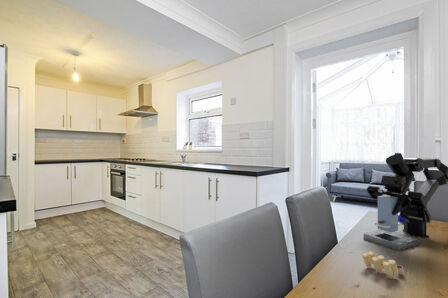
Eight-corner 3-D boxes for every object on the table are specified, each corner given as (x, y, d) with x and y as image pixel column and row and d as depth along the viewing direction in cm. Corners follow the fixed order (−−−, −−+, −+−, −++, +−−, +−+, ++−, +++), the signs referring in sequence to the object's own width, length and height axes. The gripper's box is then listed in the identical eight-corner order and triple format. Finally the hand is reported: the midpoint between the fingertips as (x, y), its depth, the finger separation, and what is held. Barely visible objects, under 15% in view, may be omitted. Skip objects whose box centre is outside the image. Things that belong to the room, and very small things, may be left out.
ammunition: (387, 264, 58) (405, 258, 62) (360, 252, 65) (377, 248, 68) (387, 282, 58) (405, 276, 62) (360, 269, 65) (378, 264, 68)
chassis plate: (384, 233, 94) (384, 228, 94) (418, 244, 83) (418, 238, 83) (363, 238, 88) (363, 233, 88) (398, 250, 77) (398, 245, 77)
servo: (388, 226, 89) (387, 193, 89) (401, 229, 85) (400, 195, 85) (372, 230, 84) (372, 195, 85) (385, 234, 80) (385, 197, 81)
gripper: (368, 166, 95) (352, 194, 90) (422, 170, 79) (406, 204, 74) (379, 184, 99) (364, 211, 94) (433, 190, 82) (418, 225, 77)
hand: (385, 212), depth 84 cm, fingers closed on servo, 4 cm apart
